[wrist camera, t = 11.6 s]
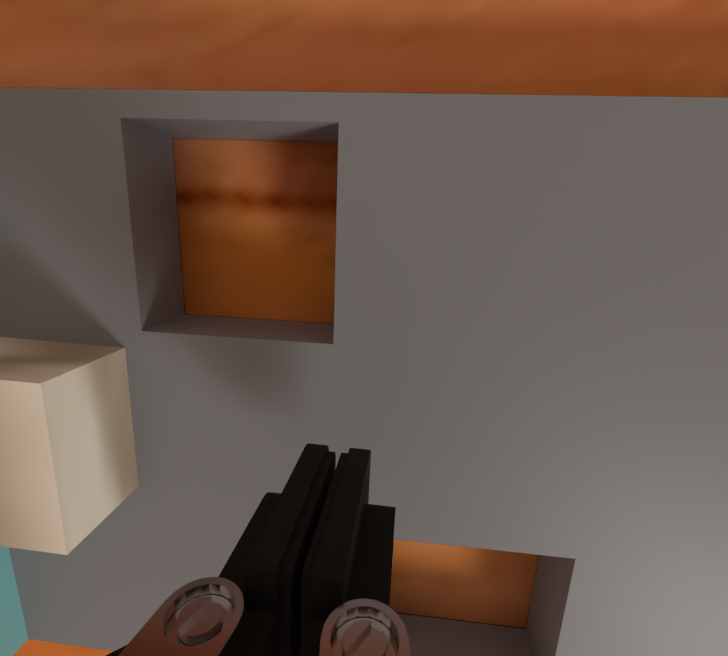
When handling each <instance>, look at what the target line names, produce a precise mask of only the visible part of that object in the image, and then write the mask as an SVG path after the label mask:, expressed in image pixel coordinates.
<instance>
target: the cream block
mask: <svg viewBox="0 0 728 656" xmlns="http://www.w3.org/2000/svg"><path fill="white" fill-rule="evenodd" d="M138 486H139V485H138V475H137V465H136V455H135V444H134V434H133V424H132V414H131V403H130V393H129V383H128V373H127V362H126V352H125V348H123V347H112V346H100V345H89V344H77V343H66V342H54V341H43V340H31V339H20V338H8V337H0V546H3V547H11V548H18V549H26V550H33V551H41V552H48V553H56V554H63V555H68V554H69V553H70V552H71V551H72V550H73V549H74V548H75V547H76V546H77V545H78V544H79V543H80V542H81V541H82V540H83V539H84V538H85V537H86V536H88V535H89V534H90V533H91V532H92V531H93V530H94V529H95V528H96V527H97V526H98V525H99V524H100V523H101V522H102V521H103V520H104V519H105V518H106V517H107V516H108V515H109V514H110V513H111V512H112V511H113V510H114V509H115V508H116V507H117V506H118V505H120V504H121V503H122V502H123V501H124V500H125V499H126V498H127V497H128V496H129V495H130V494H131V493H132V492H133V491H134V490H135V489H136V488H137V487H138Z"/></svg>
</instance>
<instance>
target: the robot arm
mask: <svg viewBox="0 0 728 656" xmlns="http://www.w3.org/2000/svg"><path fill="white" fill-rule="evenodd" d="M370 464H371V450H368V449H358V448H350V449H349V452H348V453H341V454H340V457H339V460H338V463H337V466H336V453H335V452H332V451H329V447H328V445H319V444H310V443H307V444H306V446H305V448H304V450H303V452H302V453H301V455H300V457H299V459H298V461H297V463H296V465H295V467H294V469H293V471H292V473H291V475H290V477H289V479H288V481H287V483H286V485H285V487H284V489H283V491H282V493H273V492H268V493H266V494H265V496H264V497H263V499H262V500H261V502H260V504H259V506H258V508H257V509H256V511H255V513H254V515H253V516H252V518H251V520H250V522H249V523H248V525H247V527H246V529H245V530H244V532H243V534H242V536H241V538H240V539H239V541H238V543H237V545H236V546H235V548H234V550H233V552H232V553H231V555H230V557H229V559H228V561H227V562H226V564H225V566H224V568H223V569H222V571H221V573H220V575H219V576H218V577H207V578H200V579H198V580H195V581H192V582H189V583H187V584H186V585H184V586H182V587H181V588H179V589H178V590H176V591H175V592H174V593H173V594H172V595H171V596H169V597H168V598H167V599H166V600H165V601H164V602H163V604H162V605H161V606H160V607H159V608H158V610H157V611H156V612H155V613H154V614H153V615H152V617H151V618H150V619H149V620H148V621H147V622H146V624H145V625H144V626H143V627H142V628H141V630H140V631H139V632H138V633H137V634H136V635H135V637H134V638H133V639H132V640H131V641H130V642H129V644H127V645H125V646H123V647H121V648H119V649H118V650H116V651H114V652H112V653H110V654H108V655H106V656H411V651H410V644H409V638H408V634H407V631H406V627H405V625H404V623H403V622H402V620H401V619H400V617H399V615H398V614H397V613H396V612H395V611H393V610H392V609H391V608H390V607H389V600H390V585H391V570H392V555H393V540H394V525H395V510H396V507H390V506H382V505H374V504H368V502H369V483H370ZM335 467H336V469H335Z"/></svg>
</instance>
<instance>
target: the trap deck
mask: <svg viewBox="0 0 728 656" xmlns="http://www.w3.org/2000/svg"><path fill="white" fill-rule="evenodd" d="M172 138H187V139H227V140H268V141H308V142H338V169H337V211H336V254H335V296H334V324H328V323H312V322H296V321H281V320H265V319H250V318H234V317H219V316H203V315H187V314H185V310H184V296H183V282H182V268H181V254H180V240H179V226H178V212H177V198H176V184H175V170H174V156H173V142H172ZM0 337H8V338H20V339H31V340H43V341H54V342H66V343H77V344H89V345H100V346H112V347H123V348H125V352H126V362H127V373H128V383H129V393H130V403H131V414H132V424H133V434H134V444H135V455H136V465H137V475H138V485H139V486H138V487H137V488H136V489H135V490H134V491H133V492H132V493H131V494H130V495H129V496H128V497H127V498H126V499H125V500H124V501H123V502H122V503H121V504H120V505H118V506H117V507H116V508H115V509H114V510H113V511H112V512H111V513H110V514H109V515H108V516H107V517H106V518H105V519H104V520H103V521H102V522H101V523H100V524H99V525H98V526H97V527H96V528H95V529H94V530H93V531H92V532H91V533H90V534H89V535H88V536H86V537H85V538H84V539H83V540H82V541H81V542H80V543H79V544H78V545H77V546H76V547H75V548H74V549H73V550H72V551H71V552H70V553H69V554H68V555H63V554H56V553H48V552H41V551H33V550H26V549H18V548H11V547H3V546H0V656H13V655H14V654H15V653H16V652H17V650H18V649H19V648H20V647H21V646H22V645H23V644H24V643H25V642H26V641H27V640H28V639H34V640H41V641H48V642H55V643H62V644H69V645H76V646H83V647H90V648H97V649H104V650H111V651H116V650H118V649H119V648H121V647H123V646H125V645H127V644H129V642H130V641H131V640H132V639H133V638H134V637H135V635H136V634H137V633H138V632H139V631H140V630H141V628H142V627H143V626H144V625H145V624H146V622H147V621H148V620H149V619H150V618H151V617H152V615H153V614H154V613H155V612H156V611H157V610H158V608H159V607H160V606H161V605H162V604H163V602H164V601H165V600H166V599H167V598H168V597H169V596H171V595H172V594H173V593H174V592H175V591H176V590H178V589H179V588H181V587H182V586H184V585H186V584H187V583H189V582H192V581H195V580H198V579H200V578H207V577H218V576H219V575H220V573H221V571H222V569H223V568H224V566H225V564H226V562H227V561H228V559H229V557H230V555H231V553H232V552H233V550H234V548H235V546H236V545H237V543H238V541H239V539H240V538H241V536H242V534H243V532H244V530H245V529H246V527H247V525H248V523H249V522H250V520H251V518H252V516H253V515H254V513H255V511H256V509H257V508H258V506H259V504H260V502H261V500H262V499H263V497H264V496H265V494H266V493H268V492H273V493H282V491H283V489H284V487H285V485H286V483H287V481H288V479H289V477H290V475H291V473H292V471H293V469H294V467H295V465H296V463H297V461H298V459H299V457H300V455H301V453H302V452H303V450H304V448H305V446H306V444H307V443H310V444H319V445H328V447H329V451H332V452H335V453H336V466H337V463H338V460H339V457H340V454H341V453H348V452H349V449H350V448H358V449H368V450H371V464H370V483H369V502H368V504H374V505H382V506H390V507H396V510H395V525H394V539H399V540H408V541H417V542H426V543H435V544H444V545H453V546H463V547H472V548H481V549H490V550H499V551H508V552H517V553H527V554H536V555H539V560H538V565H537V571H536V576H535V582H534V587H533V593H532V598H531V604H530V609H529V615H528V620H527V626H526V629H520V628H512V627H504V626H496V625H488V624H480V623H472V622H464V621H456V620H448V619H440V618H432V617H424V616H416V615H408V614H400V613H397V614H398V615H399V617H400V619H401V620H402V622H403V623H404V625H405V627H406V631H407V634H408V638H409V644H410V651H411V656H728V98H720V97H648V96H577V95H505V94H434V93H363V92H291V91H220V90H148V89H77V88H6V87H0ZM335 469H336V467H335Z"/></svg>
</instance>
